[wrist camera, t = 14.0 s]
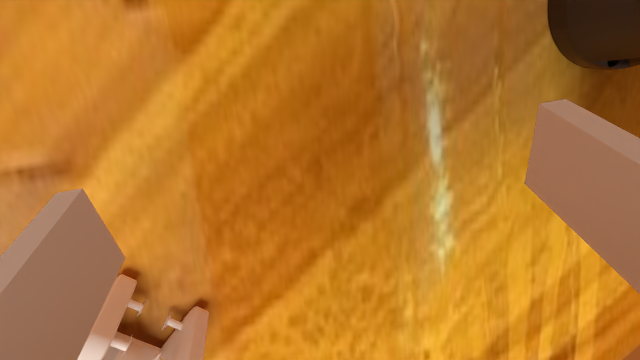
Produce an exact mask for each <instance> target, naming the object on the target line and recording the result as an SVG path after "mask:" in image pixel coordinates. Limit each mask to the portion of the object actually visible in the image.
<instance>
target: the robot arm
mask: <svg viewBox="0 0 640 360" xmlns="http://www.w3.org/2000/svg"><path fill="white" fill-rule="evenodd" d="M549 21H550V27H551V31H552V35H553V38H554V40H555V42H556V44H557V46H558V48H559V49H560V51H561V52H562V53H563V54H564V55H565V56H566V57H567V58H568V59H569V60H570V61H572V62H573V63H575V64H577V65H580V66H582V67H586V68H595V69H607V70H614V69H623V68H628V67H632V66H636V65H640V0H549ZM525 184H526V185H527V186H528V187H529V188H530V189H531V190H532V191H533V192H534V193H535V194H536V195H537V196H538V197H539V198H540V199H541V200H542V201H543V202H545V203H546V204H547V205H548V206H549V207H550V208H551V209H552V210H553V211H554V212H555V213H556V214H557V215H558V216H559V217H560V218H561V219H562V220H563V221H564V222H565V223H566V224H567V225H569V226H570V227H571V228H572V229H573V230H574V231H575V232H576V233H577V234H578V235H579V236H580V237H581V238H582V239H583V240H584V241H585V242H586V243H587V244H588V245H589V246H590V247H591V248H593V249H594V250H595V251H596V252H597V253H598V254H599V255H600V256H601V257H602V258H603V259H604V260H605V261H606V262H607V263H608V264H609V265H610V266H611V267H612V268H613V269H614V270H615V271H616V272H618V273H619V274H620V275H621V276H622V277H623V278H624V279H625V280H626V281H627V282H628V283H629V284H630V285H631V286H632V287H633V288H634V289H635V290H636V291H637V292H638V293H639V294H640V138H638V137H636V136H635V135H633V134H631V133H629V132H627V131H625V130H623V129H621V128H620V127H618V126H616V125H614V124H612V123H610V122H608V121H606V120H605V119H603V118H601V117H599V116H597V115H595V114H593V113H591V112H590V111H588V110H586V109H584V108H582V107H580V106H578V105H576V104H575V103H573V102H571V101H569V100H567V99H562V100H557V101H552V102H546V103H541V104H539V108H538V114H537V119H536V125H535V130H534V136H533V141H532V147H531V152H530V158H529V163H528V168H527V174H526V179H525ZM124 260H125V256H124V255H123V253H122V252H121V250H120V248H119V247H118V245H117V243H116V242H115V240H114V239H113V237H112V235H111V234H110V232H109V230H108V229H107V227H106V226H105V224H104V222H103V221H102V219H101V217H100V216H99V214H98V213H97V211H96V209H95V208H94V206H93V204H92V203H91V201H90V200H89V198H88V196H87V195H86V193H85V192H84V190H83V189H77V190H72V191H67V192H61V193H56V194H55V195H54V196H53V197H52V198H51V200H50V201H49V202H48V203H47V204H46V205H45V206H44V208H43V209H42V210H41V211H40V212H39V213H38V215H37V216H36V217H35V218H34V219H33V220H32V221H31V223H30V224H29V225H28V226H27V227H26V228H25V229H24V231H23V232H22V233H21V234H20V235H19V236H18V237H17V239H16V240H15V241H14V242H13V243H12V244H11V245H10V247H9V248H8V249H7V250H6V251H5V252H4V253H3V255H2V256H1V257H0V360H77V359H78V357H79V355H80V353H81V351H82V349H83V347H84V344H85V342H86V340H87V338H88V336H89V334H90V332H91V330H92V328H93V325H94V323H95V321H96V319H97V317H98V315H99V313H100V311H101V309H102V306H103V304H104V302H105V300H106V298H107V296H108V294H109V292H110V290H111V287H112V285H113V283H114V281H115V279H116V277H117V275H118V273H119V271H120V268H121V266H122V264H123V262H124Z"/></svg>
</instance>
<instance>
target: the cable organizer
mask: <svg viewBox="0 0 640 360" xmlns="http://www.w3.org/2000/svg"><path fill="white" fill-rule="evenodd" d="M136 285H137V280H135V279H132V278H130V277H128V276H126V275H123V274H121V275H119V276H118V277H117V278H116V279H115V281H114V283H113V285H112V287H111V290H110V292H109V294H108V296H107V298H106V300H105V302H104V304H103V306H102V309H101V311H100V313H99V315H98V317H97V319H96V321H95V323H94V325H93V328H92V330H91V332H90V334H89V336H88V338H87V340H86V342H85V344H84V347H83V349H82V351H81V353H80V355H79V357H78V359H77V360H203V356H204V349H205V341H206V333H207V325H208V317H209V312H208V311H207V310H205V309H202V308H200V307H198V306H195V307H194V308H192V309H191V310H190V311H189V313H188V314H187V315H186V316H185V318H184V319H183V320H182V322H179V321H177V320H175V319H172V318H170V317H171V315H170V313H169V314H168V316H167V318H166V320H165V321H164V325H163V328H164V327H166V326H167V325H168V326H171V327H173V328H175V331H174V332H173V333H172V335H171V336H170V337H169V339H168V340H167V341H166V343H165V344H164V345H163V346H162V348H161V349H160V348H158V347H156V346H153V345H150V344H148V343H145V342H143V341H140V340H138V339H135V338H132V336H131V337H130V336H127V335H125V334H122V333H120V332H117V329H118V326H119V324H120V322H121V319H122V317H123V315H124V313H125V310H126V308H127V307H130V308H132V309H134V310H137V311H139V313H141V312H142V310H143V308H144V306H145V304H146V302H145V301H144V303H143V304H141V303H139V302H137V301H134V300H132V299H131V297H132V294H133V292H134V290H135V287H136ZM145 300H146V299H145ZM139 313H138V315H139ZM138 315H137V316H138ZM169 315H170V316H169ZM163 328H162V330H163Z"/></svg>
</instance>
